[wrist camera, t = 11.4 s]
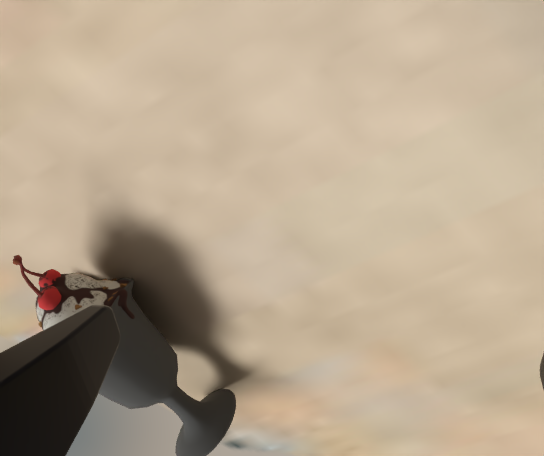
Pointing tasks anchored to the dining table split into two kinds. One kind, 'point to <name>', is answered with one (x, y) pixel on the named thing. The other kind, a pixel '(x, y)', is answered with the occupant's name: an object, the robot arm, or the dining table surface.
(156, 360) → the sundae
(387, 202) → the dining table surface
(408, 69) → the dining table surface
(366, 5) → the dining table surface
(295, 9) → the dining table surface
